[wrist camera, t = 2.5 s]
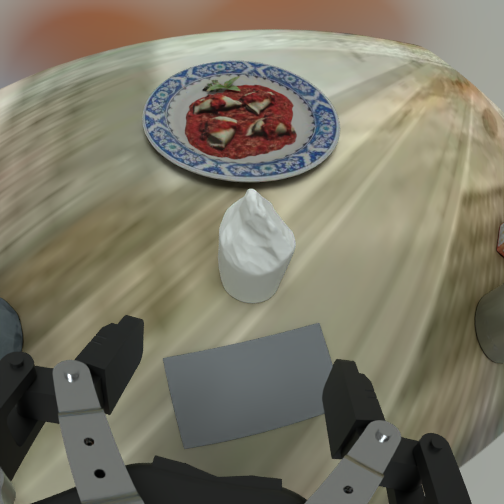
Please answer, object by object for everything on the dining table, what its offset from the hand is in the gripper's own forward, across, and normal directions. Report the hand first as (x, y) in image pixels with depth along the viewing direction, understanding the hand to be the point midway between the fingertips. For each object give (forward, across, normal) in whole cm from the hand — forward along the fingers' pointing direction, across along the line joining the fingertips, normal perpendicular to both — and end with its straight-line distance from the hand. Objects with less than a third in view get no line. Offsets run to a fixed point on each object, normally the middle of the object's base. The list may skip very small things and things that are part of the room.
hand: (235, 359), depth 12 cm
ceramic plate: (+33, +5, -12) cm, 35 cm away
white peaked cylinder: (+17, 0, +3) cm, 18 cm away
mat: (+10, -2, +10) cm, 14 cm away
